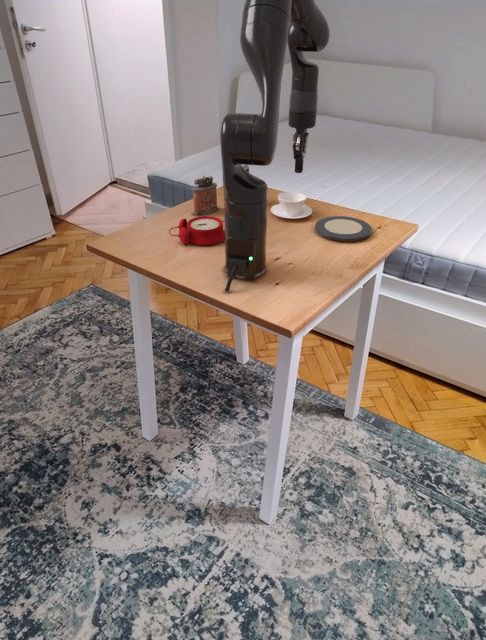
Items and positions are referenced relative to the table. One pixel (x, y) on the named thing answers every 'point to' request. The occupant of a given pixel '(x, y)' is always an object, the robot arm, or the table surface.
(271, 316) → the table surface
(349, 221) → the plate
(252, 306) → the table surface
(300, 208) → the teacup
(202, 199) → the lighter
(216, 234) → the alarm clock
